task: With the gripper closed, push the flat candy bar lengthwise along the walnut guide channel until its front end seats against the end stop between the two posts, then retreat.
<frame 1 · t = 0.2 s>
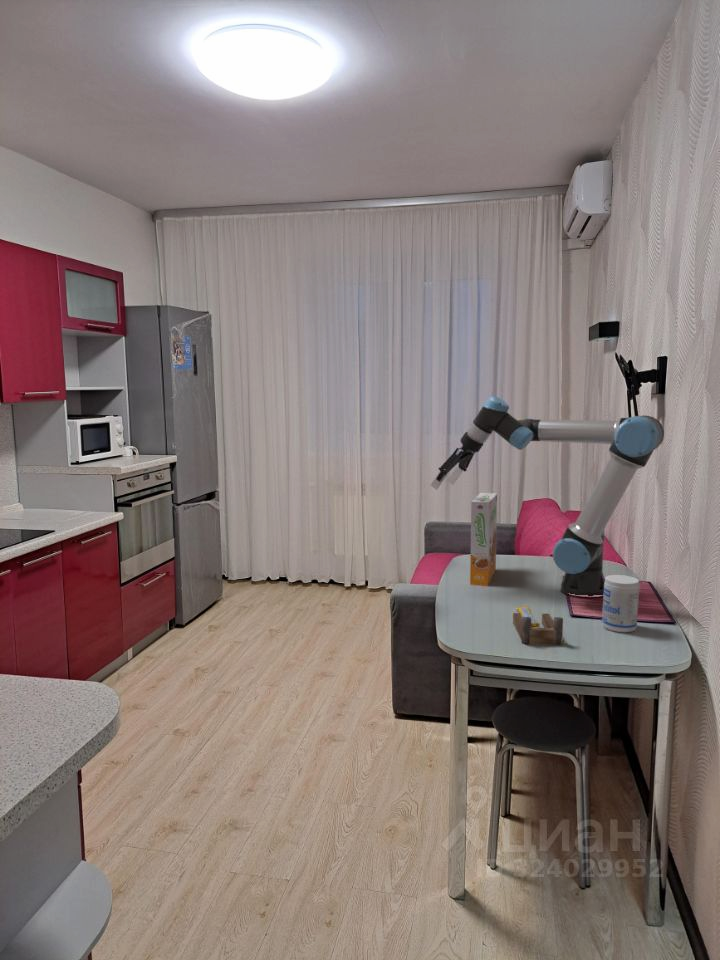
hand: (442, 485, 247), 35 cm above the table, tool tilted 35°, fingers open, 13 cm apart
candy bar: (527, 620, 212), on the table
supplement tub: (619, 628, 203), on the table
guide channel: (535, 632, 199), on the table
cereal box: (483, 577, 258), on the table
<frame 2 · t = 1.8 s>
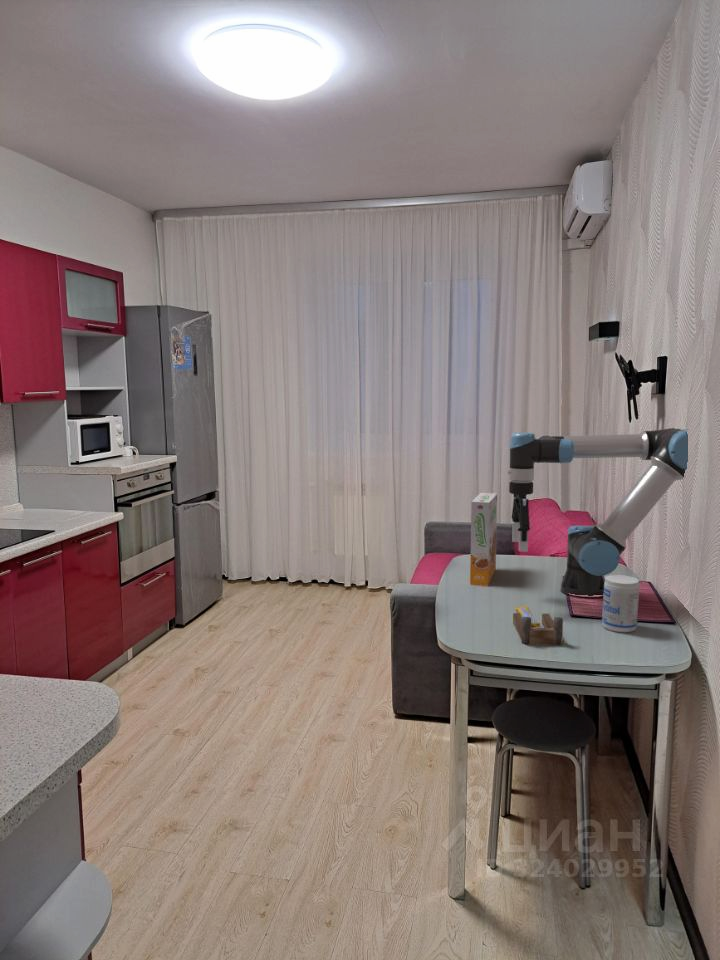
hand: (519, 546, 225), 19 cm above the table, tool pointing down, fingers open, 13 cm apart
nothing on the table moved.
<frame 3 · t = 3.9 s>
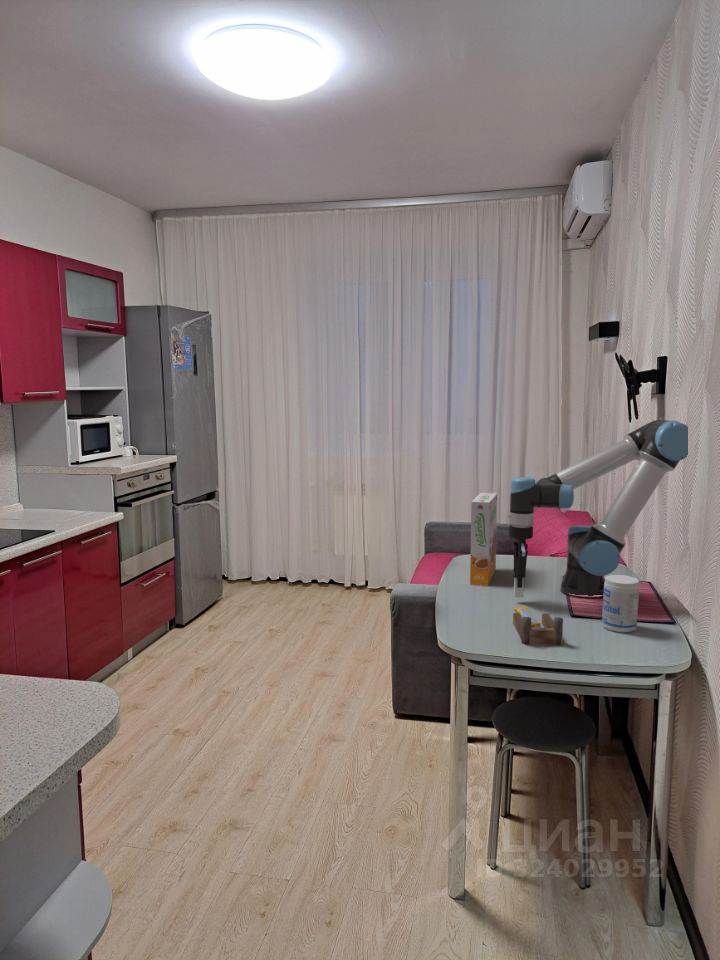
hand: (518, 596, 227), 2 cm above the table, tool pointing down, fingers closed
nothing on the table moved.
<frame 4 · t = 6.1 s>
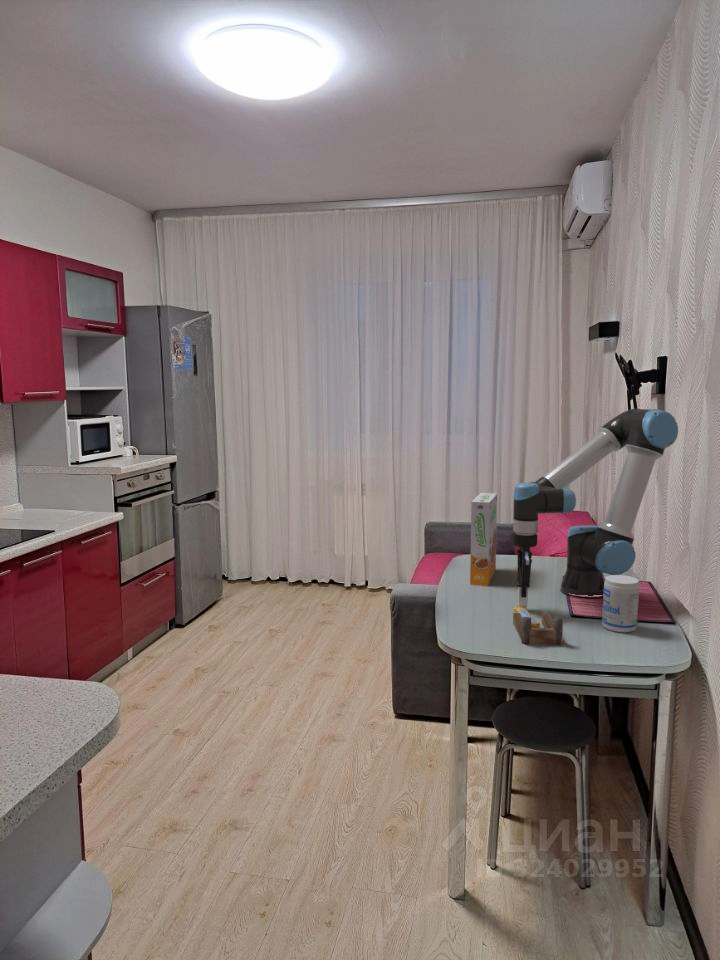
hand: (522, 606, 219), 1 cm above the table, tool pointing down, fingers closed
candy bar: (526, 620, 211), on the table, touching gripper
everything else where it was.
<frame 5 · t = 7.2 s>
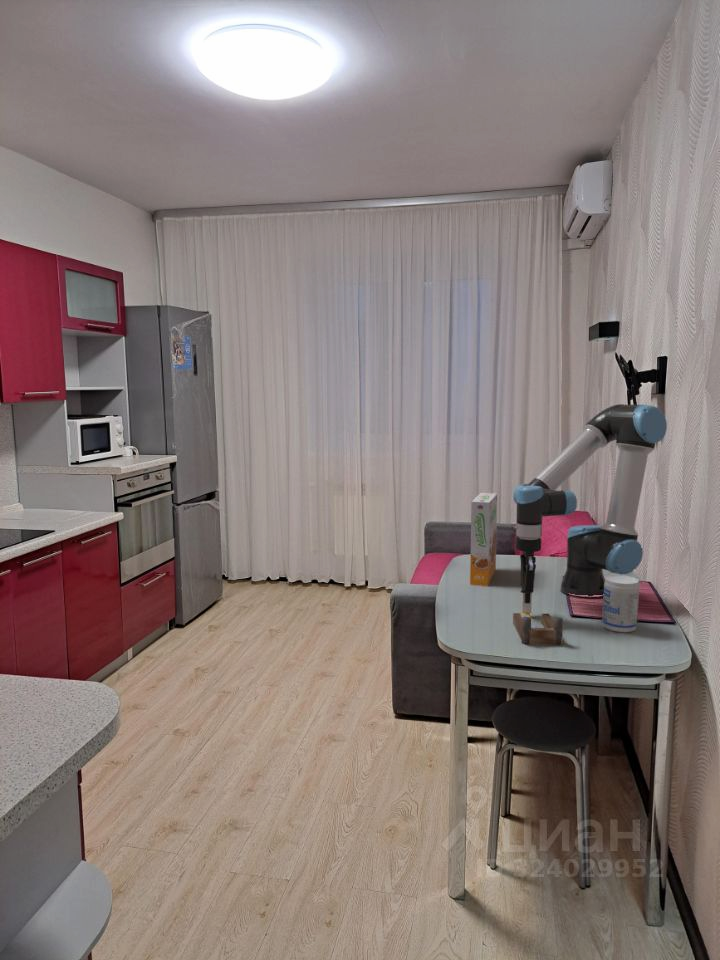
hand: (526, 612, 213), 1 cm above the table, tool pointing down, fingers closed
candy bar: (528, 627, 205), on the table
everything else where it was.
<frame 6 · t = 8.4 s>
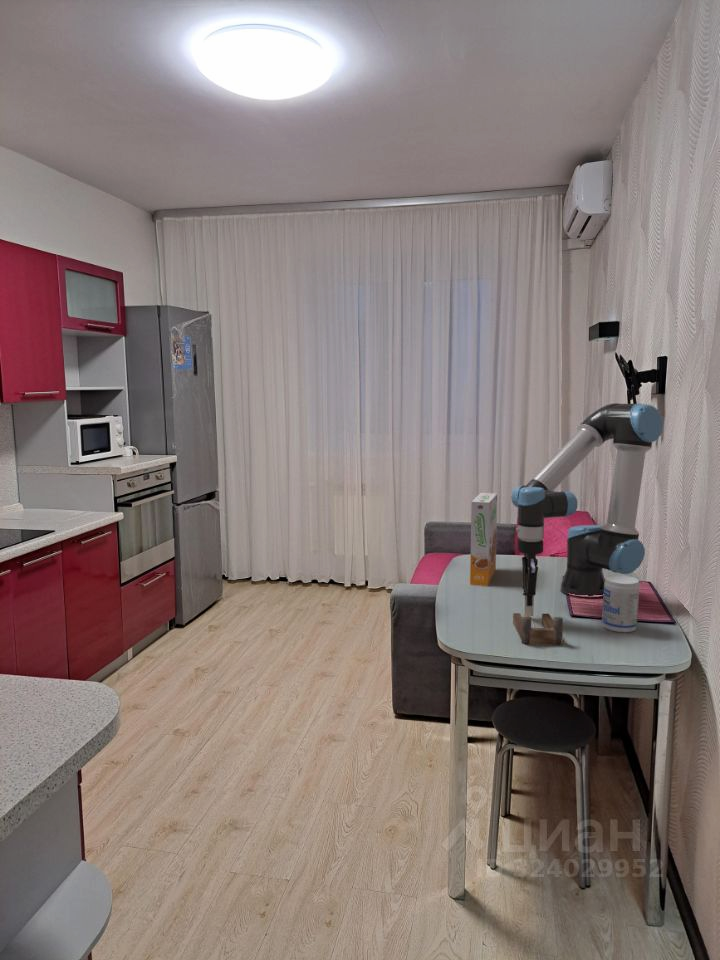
hand: (528, 615, 211), 1 cm above the table, tool pointing down, fingers closed
candy bar: (530, 631, 202), on the table
everything else where it was.
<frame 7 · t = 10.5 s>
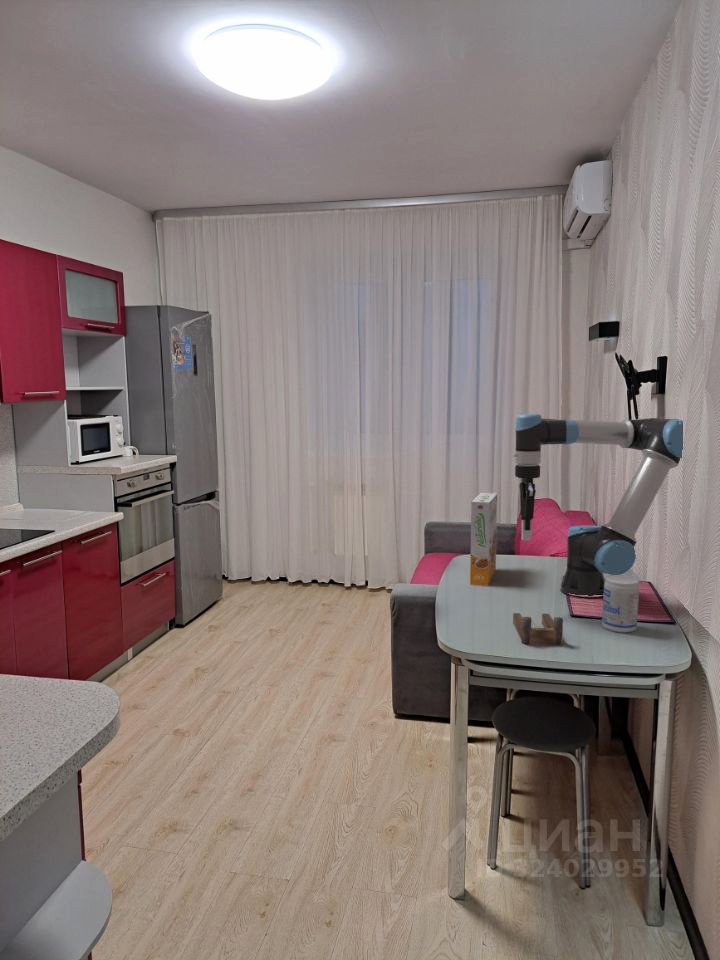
hand: (526, 539, 217), 23 cm above the table, tool pointing down, fingers closed
nothing on the table moved.
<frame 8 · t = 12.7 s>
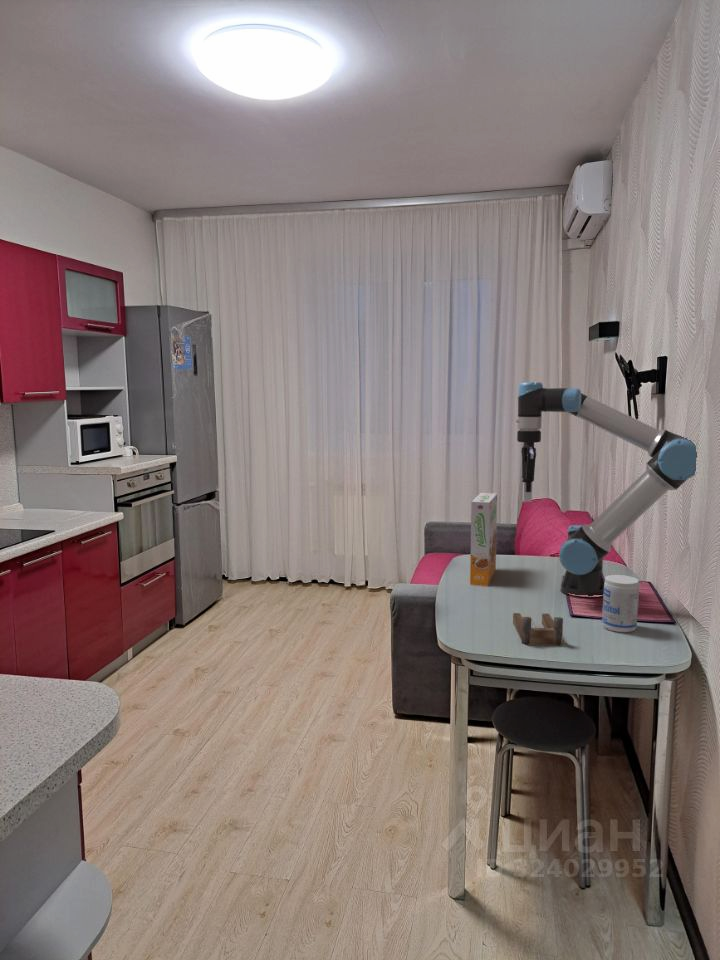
hand: (527, 501, 230), 32 cm above the table, tool pointing down, fingers closed
candy bar: (531, 631, 202), on the table, touching guide channel
everything else where it was.
at the end: candy bar 1.6 cm from the target spot, on the table; candy bar moved 9.7 cm from its start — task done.
